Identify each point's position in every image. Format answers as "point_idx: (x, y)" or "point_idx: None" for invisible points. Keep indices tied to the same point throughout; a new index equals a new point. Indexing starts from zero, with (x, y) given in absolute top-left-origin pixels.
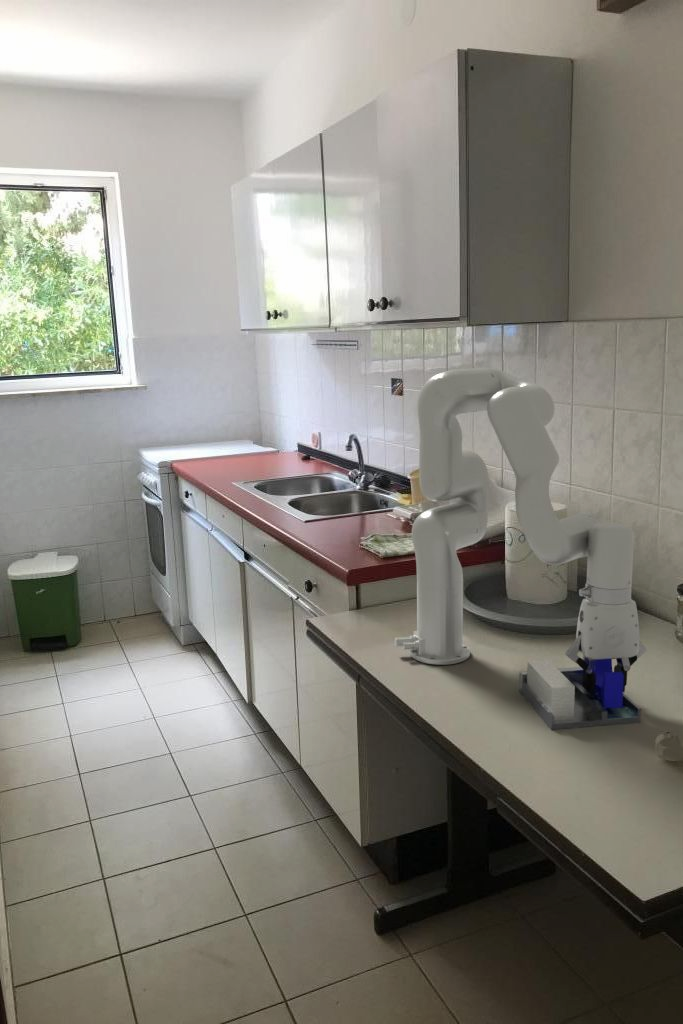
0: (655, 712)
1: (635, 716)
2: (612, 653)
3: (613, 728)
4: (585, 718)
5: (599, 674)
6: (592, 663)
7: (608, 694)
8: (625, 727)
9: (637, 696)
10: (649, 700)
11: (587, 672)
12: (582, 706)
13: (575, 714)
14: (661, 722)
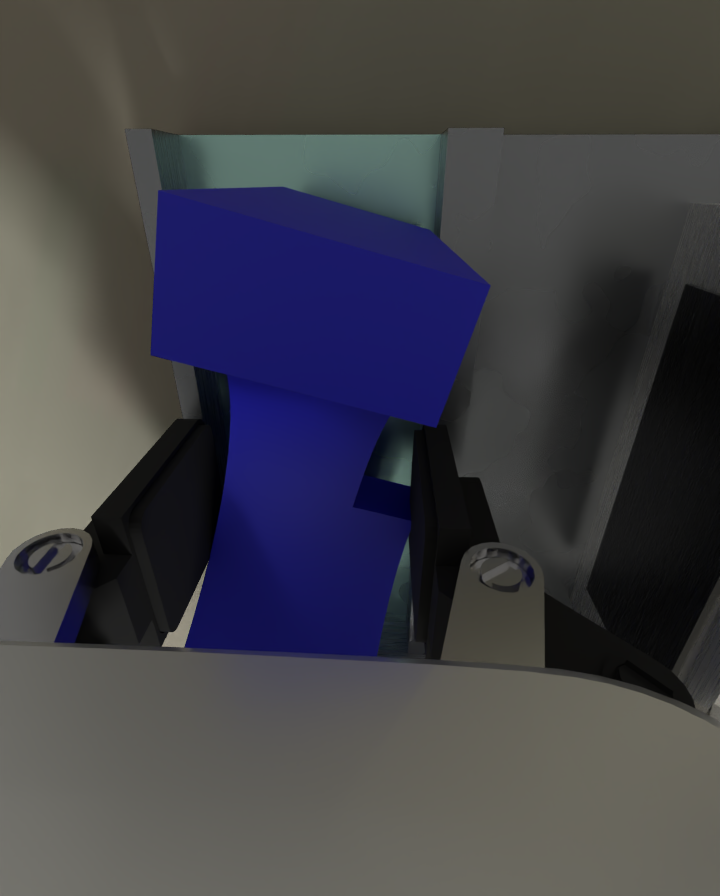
0: (35, 277)
1: (196, 137)
2: (166, 754)
3: (415, 64)
4: (596, 192)
5: (299, 609)
6: (489, 645)
7: (407, 231)
8: (315, 64)
9: (100, 487)
10: (44, 433)
11: (526, 557)
12: (499, 387)
13: (623, 278)
14: (19, 103)
